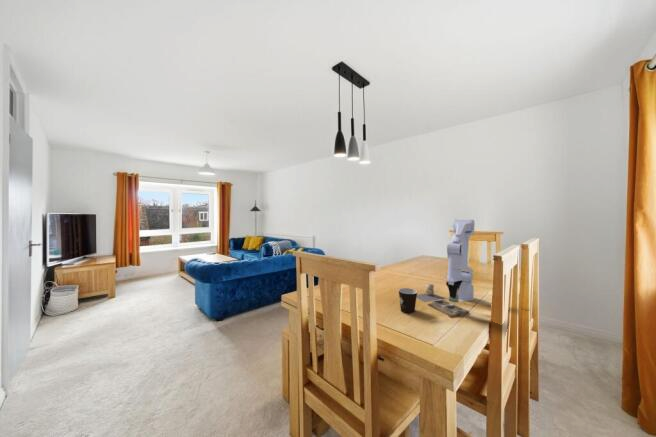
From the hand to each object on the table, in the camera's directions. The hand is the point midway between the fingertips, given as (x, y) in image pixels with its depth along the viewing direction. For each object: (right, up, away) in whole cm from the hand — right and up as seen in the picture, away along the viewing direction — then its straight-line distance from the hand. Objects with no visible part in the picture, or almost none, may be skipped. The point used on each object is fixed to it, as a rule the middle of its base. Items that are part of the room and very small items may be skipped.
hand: (453, 296), depth 117 cm
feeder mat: (-4, -7, +20) cm, 21 cm away
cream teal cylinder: (0, -2, 0) cm, 2 cm away
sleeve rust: (-2, -7, +23) cm, 24 cm away
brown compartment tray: (-1, -8, +4) cm, 9 cm away
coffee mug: (-21, -8, +3) cm, 23 cm away
